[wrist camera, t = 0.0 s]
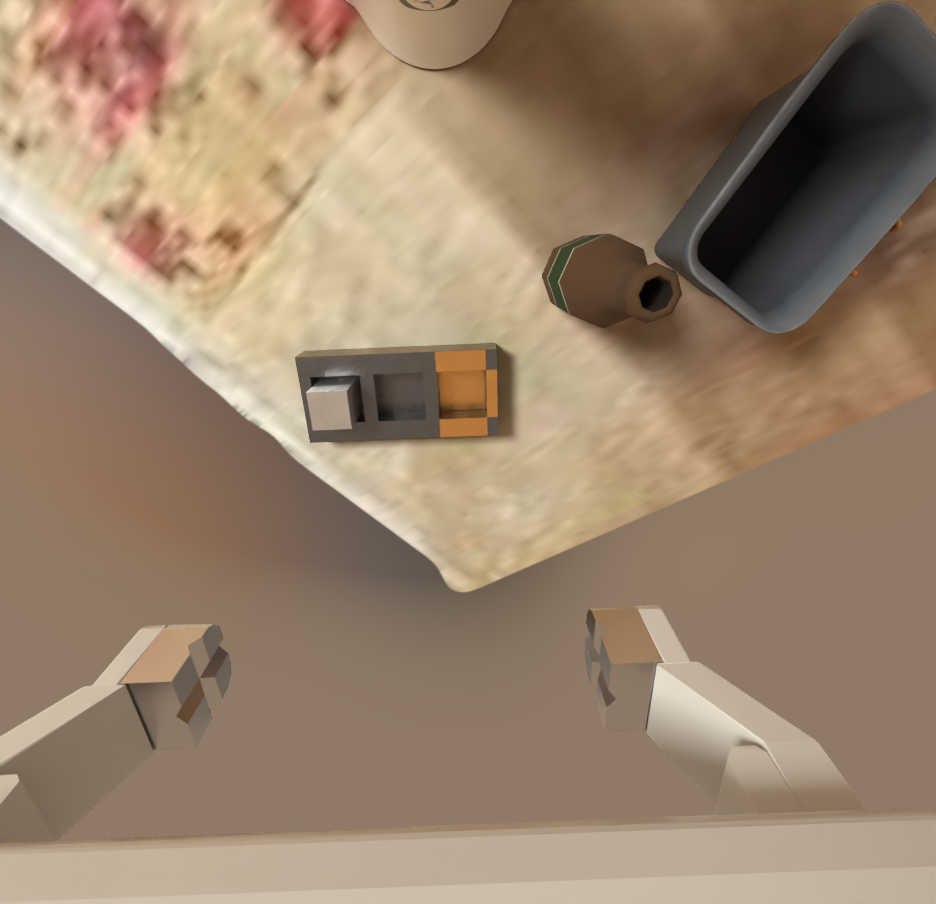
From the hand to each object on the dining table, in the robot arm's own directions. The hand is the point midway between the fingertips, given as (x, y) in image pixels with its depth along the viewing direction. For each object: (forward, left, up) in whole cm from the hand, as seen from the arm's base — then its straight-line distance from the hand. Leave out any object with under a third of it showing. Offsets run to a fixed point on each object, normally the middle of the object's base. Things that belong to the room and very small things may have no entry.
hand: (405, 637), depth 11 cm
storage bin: (-11, +31, -48) cm, 58 cm away
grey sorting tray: (+7, -6, -48) cm, 49 cm away
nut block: (+7, -13, -48) cm, 50 cm away
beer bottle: (-5, +14, -48) cm, 50 cm away
